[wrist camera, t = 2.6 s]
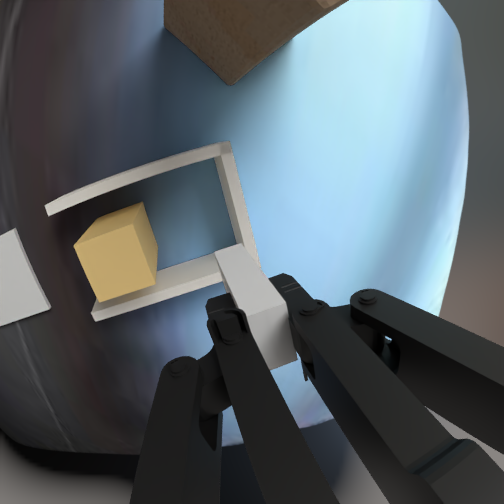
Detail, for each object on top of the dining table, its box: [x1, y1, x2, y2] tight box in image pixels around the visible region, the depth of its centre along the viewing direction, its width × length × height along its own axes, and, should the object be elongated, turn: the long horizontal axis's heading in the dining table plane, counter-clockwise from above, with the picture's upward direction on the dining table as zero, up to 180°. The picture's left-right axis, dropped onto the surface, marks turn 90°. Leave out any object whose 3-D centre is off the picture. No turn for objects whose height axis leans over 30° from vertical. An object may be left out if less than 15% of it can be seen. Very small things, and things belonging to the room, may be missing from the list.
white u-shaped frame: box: [45, 141, 261, 321], centre depth 28 cm, size 12×17×5 cm
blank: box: [74, 202, 158, 303], centre depth 25 cm, size 5×5×9 cm
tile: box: [0, 228, 51, 326], centre depth 26 cm, size 10×10×1 cm
